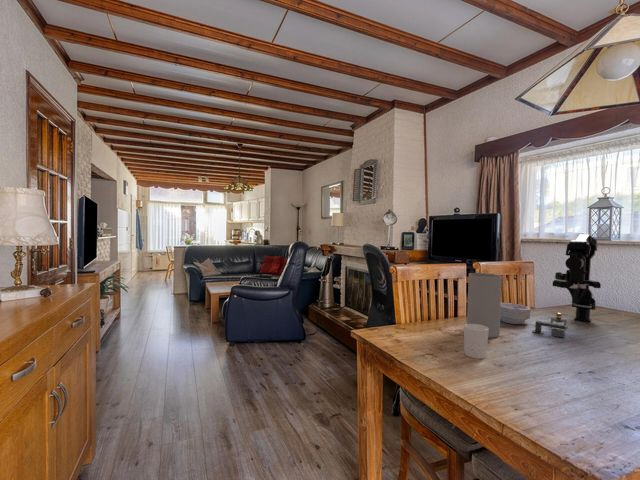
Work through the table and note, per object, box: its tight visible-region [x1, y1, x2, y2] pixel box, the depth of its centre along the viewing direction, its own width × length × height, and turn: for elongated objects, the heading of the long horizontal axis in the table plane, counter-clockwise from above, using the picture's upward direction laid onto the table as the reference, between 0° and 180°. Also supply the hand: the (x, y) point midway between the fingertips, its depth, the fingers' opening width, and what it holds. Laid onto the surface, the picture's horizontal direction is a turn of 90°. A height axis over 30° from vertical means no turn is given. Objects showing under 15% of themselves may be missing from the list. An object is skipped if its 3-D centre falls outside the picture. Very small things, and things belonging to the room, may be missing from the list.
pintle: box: [554, 311, 568, 329], centre depth 157 cm, size 7×7×6 cm
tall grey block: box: [466, 272, 503, 339], centre depth 143 cm, size 12×12×25 cm
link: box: [550, 316, 568, 338], centre depth 150 cm, size 24×6×3 cm, turn 144°
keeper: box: [531, 320, 567, 335], centre depth 144 cm, size 4×12×5 cm, turn 50°
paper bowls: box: [500, 302, 531, 325], centre depth 163 cm, size 15×15×8 cm
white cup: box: [463, 323, 489, 360], centre depth 118 cm, size 8×8×10 cm
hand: (575, 303), depth 152 cm, fingers closed
